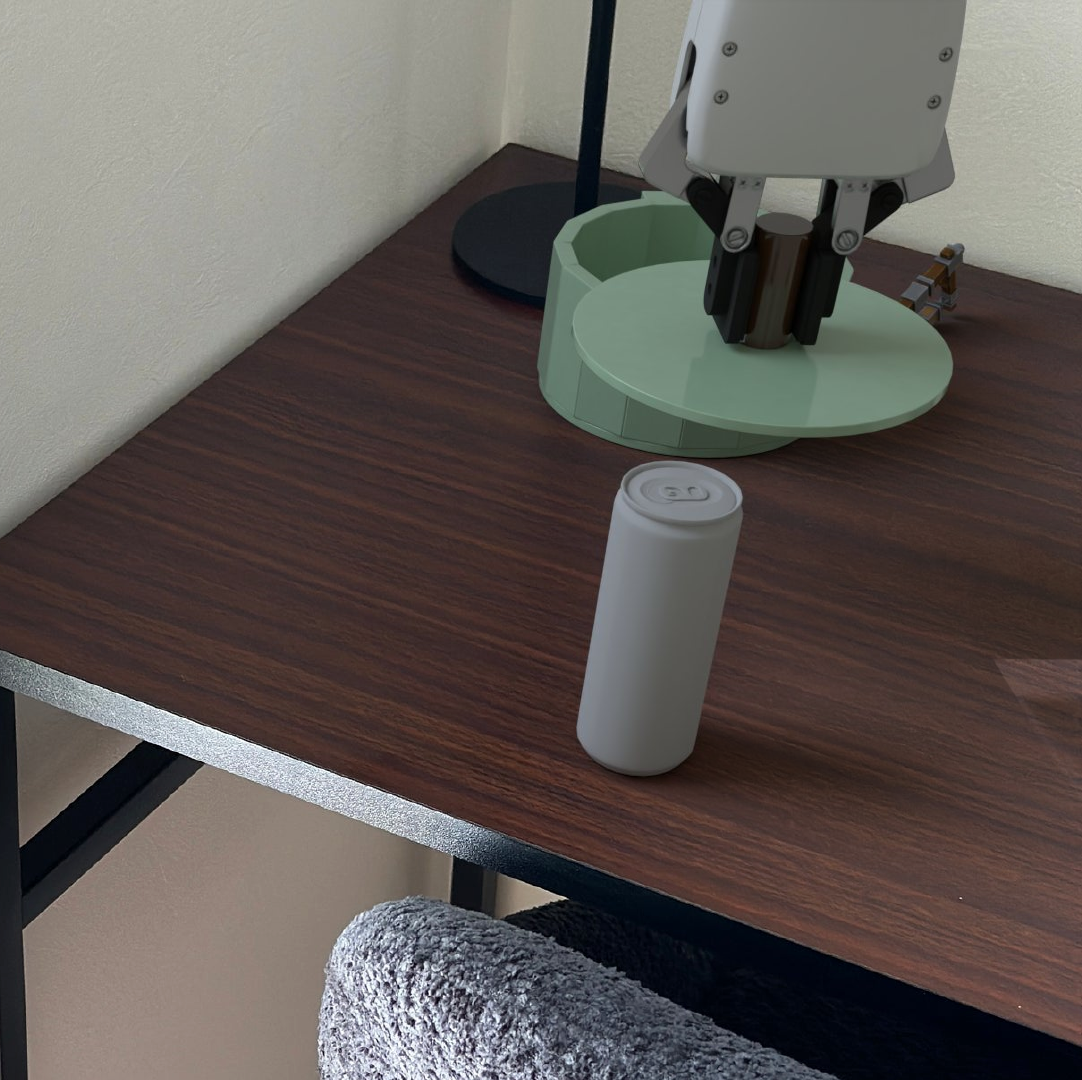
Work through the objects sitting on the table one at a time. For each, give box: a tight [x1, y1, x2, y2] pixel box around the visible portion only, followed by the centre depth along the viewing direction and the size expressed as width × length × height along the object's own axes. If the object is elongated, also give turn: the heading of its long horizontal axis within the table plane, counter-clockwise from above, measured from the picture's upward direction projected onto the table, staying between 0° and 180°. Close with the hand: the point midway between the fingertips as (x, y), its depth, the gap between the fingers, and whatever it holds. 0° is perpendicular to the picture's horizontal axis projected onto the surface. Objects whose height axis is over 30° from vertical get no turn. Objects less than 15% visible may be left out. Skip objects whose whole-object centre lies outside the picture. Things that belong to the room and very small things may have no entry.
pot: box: [536, 190, 855, 459], centre depth 109 cm, size 15×20×8 cm
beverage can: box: [576, 460, 744, 777], centre depth 83 cm, size 5×5×12 cm
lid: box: [571, 212, 954, 439], centre depth 88 cm, size 16×16×6 cm
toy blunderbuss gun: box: [897, 242, 966, 327], centre depth 117 cm, size 2×8×4 cm, turn 133°
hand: (762, 327), depth 89 cm, fingers closed on lid, 2 cm apart
